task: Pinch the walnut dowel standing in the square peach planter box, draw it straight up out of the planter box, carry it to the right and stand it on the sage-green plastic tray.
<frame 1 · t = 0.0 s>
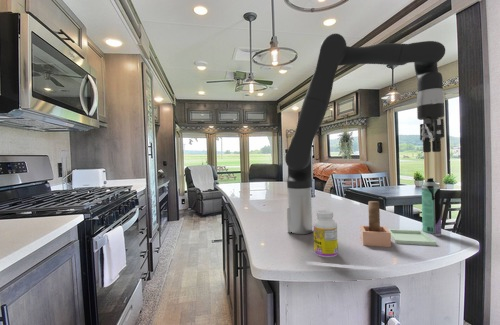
hand: (431, 152, 87), 29 cm above the countertop, tool pointing down, fingers open, 8 cm apart
dowel: (374, 242, 83), point 1 cm above the countertop, touching peach planter box
peach planter box: (374, 244, 83), on the countertop
tray: (409, 240, 85), on the countertop
spray can: (431, 234, 92), on the countertop
supplement bottle: (325, 256, 75), on the countertop
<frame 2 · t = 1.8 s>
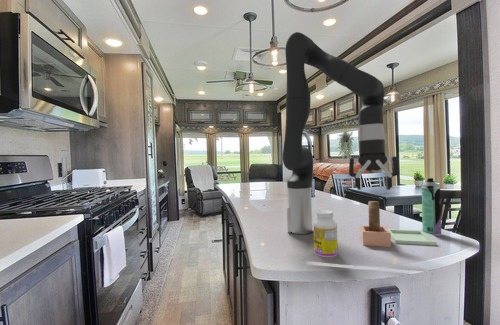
hand: (373, 189, 83), 18 cm above the countertop, tool pointing down, fingers open, 8 cm apart
nothing on the countertop moved.
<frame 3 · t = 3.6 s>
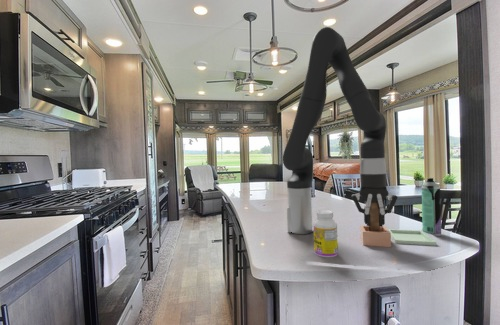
hand: (374, 225, 83), 6 cm above the countertop, tool pointing down, fingers closed on dowel, 3 cm apart
dowel: (374, 242, 83), point 1 cm above the countertop, touching gripper, peach planter box
everything else where it was.
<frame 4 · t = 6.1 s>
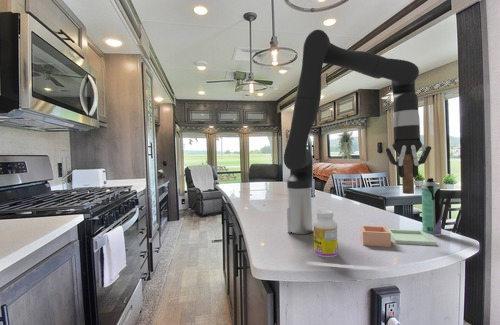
hand: (407, 177, 85), 21 cm above the countertop, tool pointing down, fingers closed on dowel, 3 cm apart
dowel: (408, 193, 85), point 16 cm above the countertop, touching gripper
everything else where it was.
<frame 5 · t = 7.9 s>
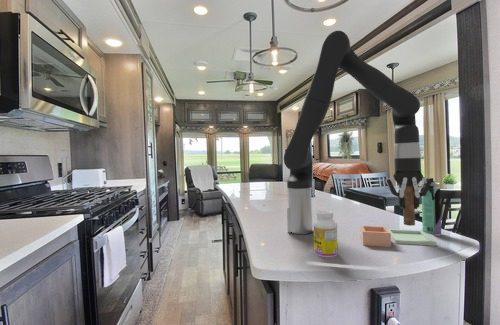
hand: (408, 208, 85), 11 cm above the countertop, tool pointing down, fingers closed on dowel, 3 cm apart
dowel: (409, 224, 85), point 5 cm above the countertop, touching gripper
everything else where it was.
when the fingers open (7 cm above the countertop, at t = 9.0 s): dowel stays where it is, resting on tray.
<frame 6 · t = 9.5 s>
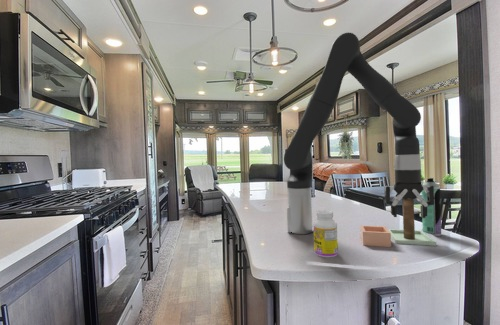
hand: (408, 217, 85), 8 cm above the countertop, tool pointing down, fingers open, 8 cm apart
dowel: (409, 238, 85), point 1 cm above the countertop, touching tray
everything else where it was.
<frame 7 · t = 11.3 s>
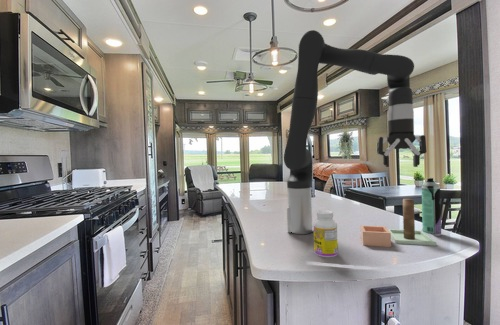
hand: (401, 166, 87), 25 cm above the countertop, tool pointing down, fingers open, 8 cm apart
nothing on the countertop moved.
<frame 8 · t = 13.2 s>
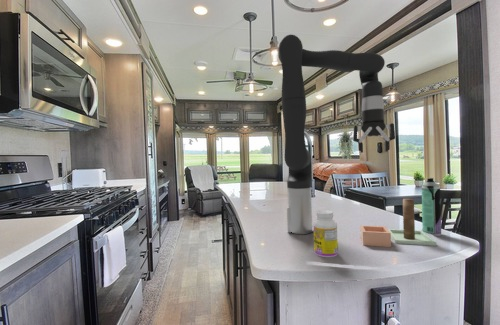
hand: (373, 152, 98), 30 cm above the countertop, tool pointing down, fingers open, 8 cm apart
nothing on the countertop moved.
at the end: dowel inside the target area on the tray (0.1 cm from its centre), point 0.8 cm above the tray's base; dowel touching tray; the gripper is holding nothing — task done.
